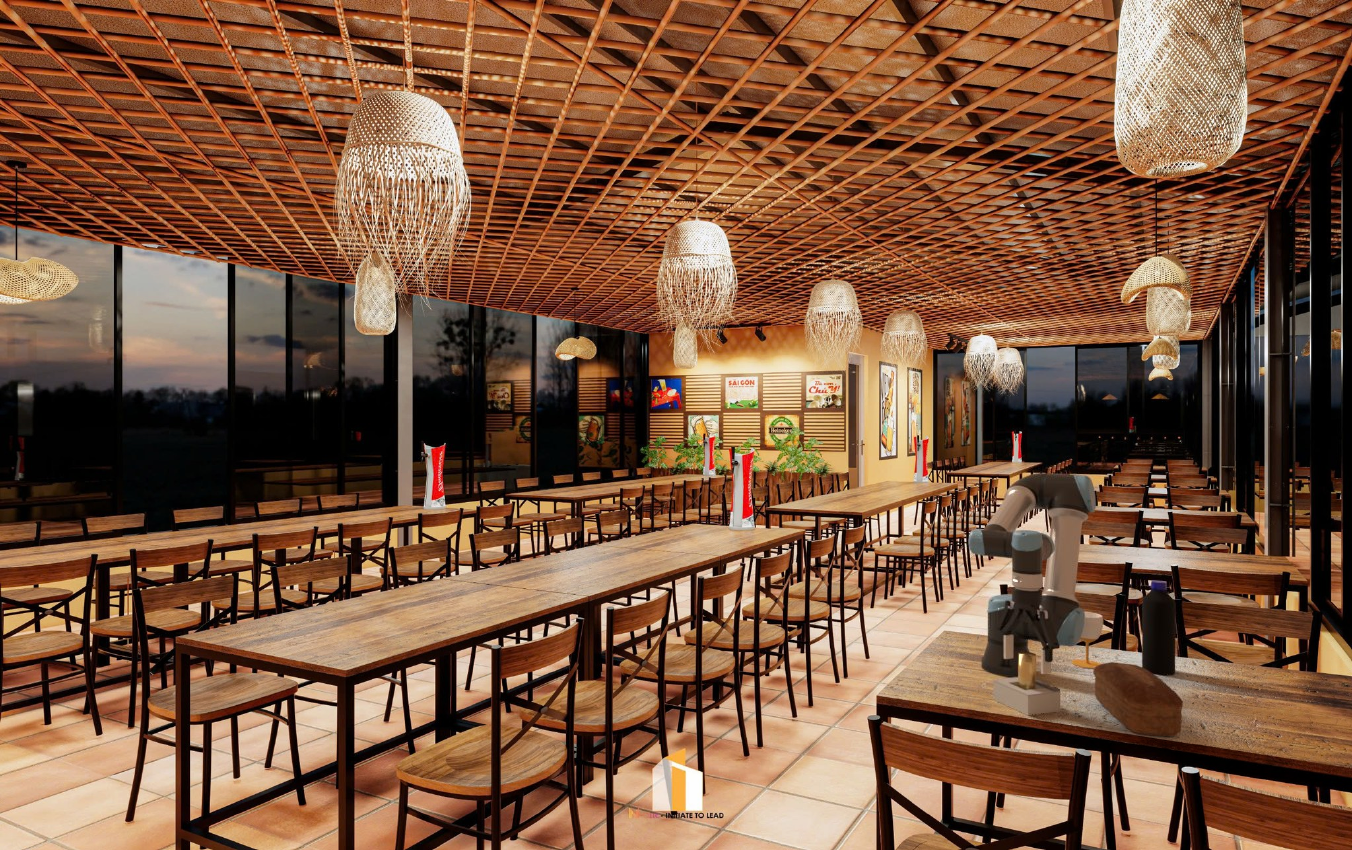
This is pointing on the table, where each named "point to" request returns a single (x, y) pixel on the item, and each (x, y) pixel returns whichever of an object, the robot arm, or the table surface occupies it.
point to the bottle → (1158, 630)
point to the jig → (1027, 696)
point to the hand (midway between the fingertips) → (1026, 665)
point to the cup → (1090, 637)
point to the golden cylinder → (1026, 670)
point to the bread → (1138, 699)
